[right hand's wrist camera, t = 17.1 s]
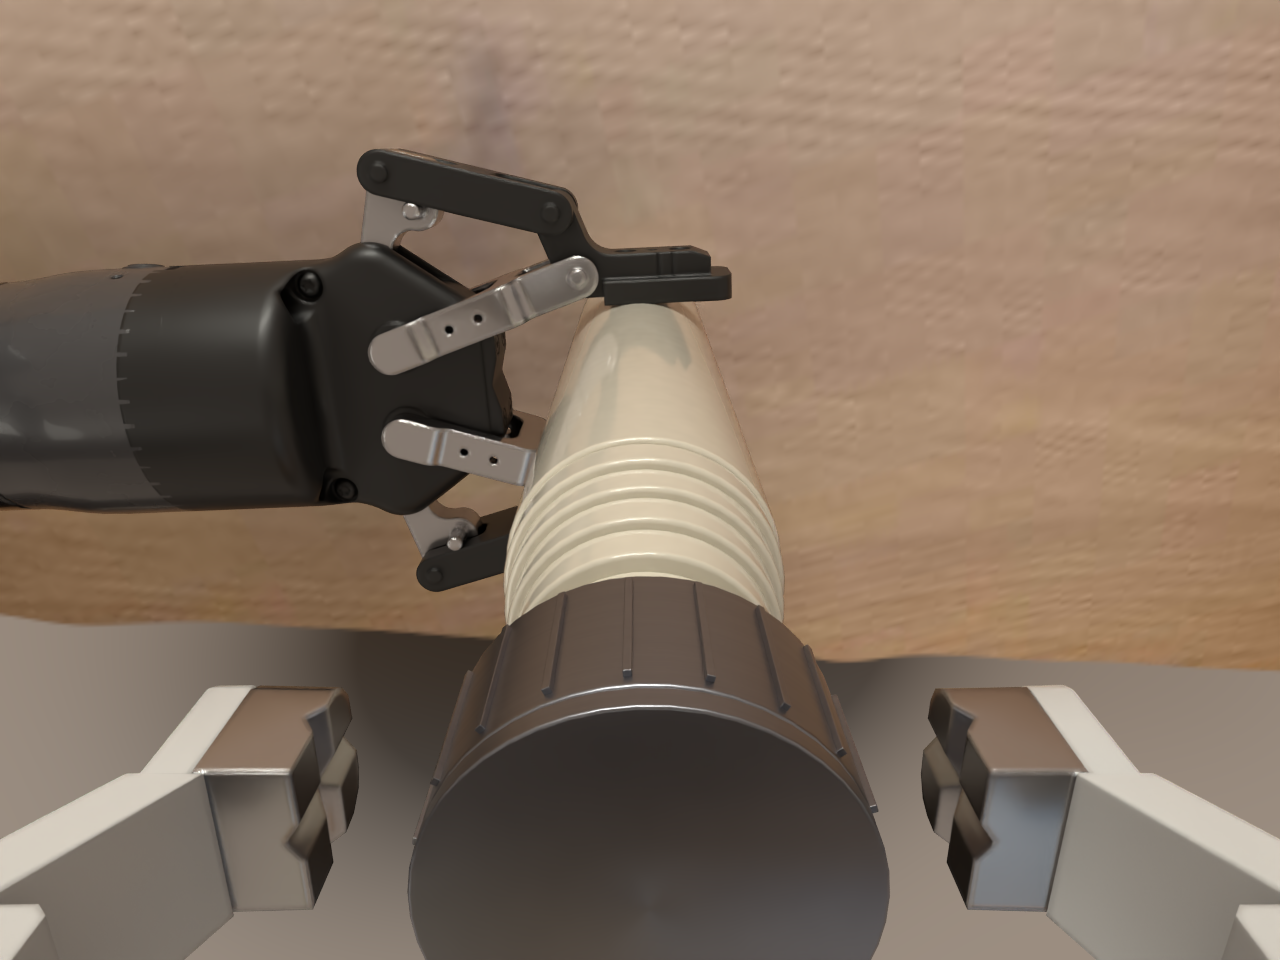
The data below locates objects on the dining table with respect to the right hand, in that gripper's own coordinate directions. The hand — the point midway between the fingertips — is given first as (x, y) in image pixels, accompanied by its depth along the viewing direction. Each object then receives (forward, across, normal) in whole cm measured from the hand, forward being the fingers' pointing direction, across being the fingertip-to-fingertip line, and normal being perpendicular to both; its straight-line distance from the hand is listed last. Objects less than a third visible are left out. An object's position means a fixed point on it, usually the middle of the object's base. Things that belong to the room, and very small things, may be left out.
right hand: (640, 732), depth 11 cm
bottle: (+24, 0, 0) cm, 24 cm away
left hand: (+18, -3, 0) cm, 18 cm away
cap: (-2, 0, 0) cm, 2 cm away
